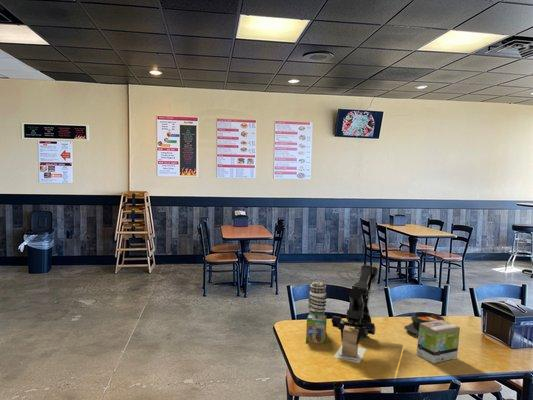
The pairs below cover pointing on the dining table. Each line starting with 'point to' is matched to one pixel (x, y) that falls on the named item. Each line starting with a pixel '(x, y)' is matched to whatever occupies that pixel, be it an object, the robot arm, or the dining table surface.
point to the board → (349, 358)
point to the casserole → (421, 321)
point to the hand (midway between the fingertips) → (349, 343)
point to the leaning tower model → (317, 298)
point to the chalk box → (316, 328)
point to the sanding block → (350, 342)
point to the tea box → (438, 341)
